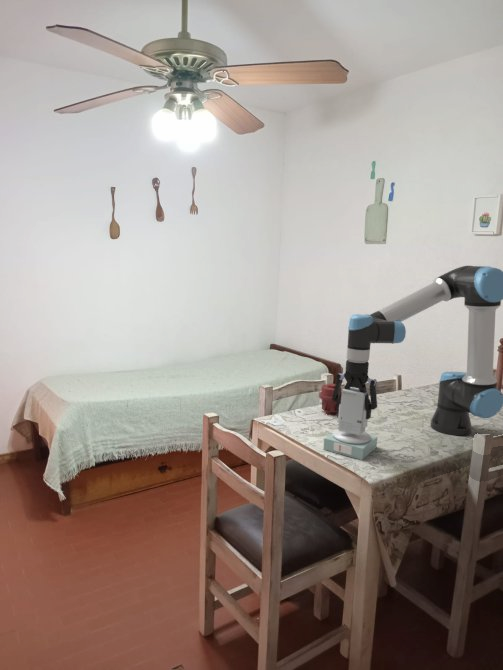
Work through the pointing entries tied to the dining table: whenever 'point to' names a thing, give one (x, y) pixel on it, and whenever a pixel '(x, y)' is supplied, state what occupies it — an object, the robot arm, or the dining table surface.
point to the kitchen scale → (350, 444)
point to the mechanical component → (328, 398)
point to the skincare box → (352, 411)
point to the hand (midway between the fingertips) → (352, 424)
